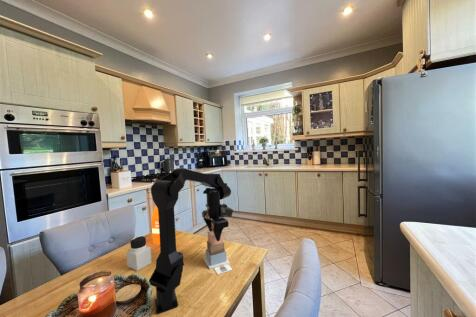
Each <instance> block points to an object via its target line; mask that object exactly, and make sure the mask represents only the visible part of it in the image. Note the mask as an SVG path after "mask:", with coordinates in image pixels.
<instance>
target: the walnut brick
mask: <svg viewBox="0 0 476 317" xmlns="http://www.w3.org/2000/svg"><path fill="white" fill-rule="evenodd" d="M206 246H207V248H206V249H207V250H208V251H209V253H210V255H211V256H212V255H216V254H220V253H224V252H225V251H226V249H225V242H224V241H223V243H220V244H216V245H211V244H210V243H209V242H208V240H206Z"/></svg>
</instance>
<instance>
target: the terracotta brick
mask: <svg viewBox="0 0 476 317" xmlns="http://www.w3.org/2000/svg"><path fill="white" fill-rule="evenodd" d="M223 239H224V238H223V232H222V233H221V237H220V241H217V240H216V238H215V235H214V233H213V231H211V232H210V231H207V241H208V242H209V243H210V244H211V245H216V244H220V243H223V242H224V240H223Z"/></svg>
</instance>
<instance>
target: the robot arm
mask: <svg viewBox="0 0 476 317" xmlns="http://www.w3.org/2000/svg"><path fill="white" fill-rule="evenodd" d="M221 176H222V175H221V174H220V173H205V172H204V173H203V172H199V171H196V170H191V169H188V168H185V167H184V168H182V167H181V168H180V167H179V168H178V167H177V168H175V169H173V170H172V171H171V172H170V173H167V174H166V175H164V176H163V177H161V178H160V179H157V180H155V182H153V184H152V185H151V187H150V193H151V197H152V201H153V203H154V206H155V205H156V206H157V208H158V217H159V235H160V245H159V248H160V249H159V250H160V251H159V254H158V256H157V258H156V261H155V262H156V263H155V269H154V271H153V272H152V273H151V276H150V278H149V280H148V283H149V284H150V286H152V287H153V288H155V293H156V294H155V297H156V298H155V300H154V302H155V312H156V314H157V315H158V314H161V313H163V312H167V311H169V310H172V309H174V308H177V307H179V302H178V297H177V293H176V288H178V287H179V286H181V280H182V274H183V271H184V270H183V269H184V266H185V262H184V253H183V252H180V251H178V250H177V239H176V238H177V237H176V236H177V235H176V223H175V222H176V218H175V206H176V205H177V202H178V200H179V192H181V190H182V189H184V187H185V184H186V181H189V182H195V183H199V184H201V185H202V186H204V187H206V188H204V190H203V192H202V194H204V195H206V204H205V207H206V209H203V211H202V212H201V217H202V219H203V221H204V223H205V225H206V226H207V228H208V232H211V231H213V233H214V235H215V238H216V240H217V241H220V237H221V233H222V234H223V230H224V228H228V227H229V221H228V220H227V219H226V218H224V216H225V217H229V218H232V216H233V213H234V209H232V208H231V207H228V205H227V204H226V203H222V204H221V200H224V199H226V198H228V197H230V196H231V194H232V190H231V188H230V187H229V185H228V183H227V182H224V180H223V178H222V177H221Z"/></svg>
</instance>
